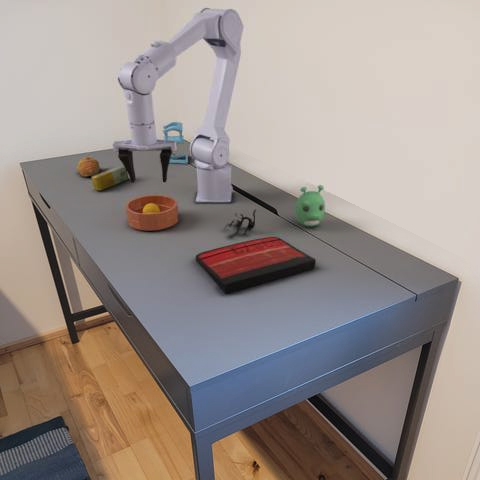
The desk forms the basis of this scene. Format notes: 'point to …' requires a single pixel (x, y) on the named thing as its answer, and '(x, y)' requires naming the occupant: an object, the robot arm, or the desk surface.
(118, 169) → the medication box
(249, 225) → the creature
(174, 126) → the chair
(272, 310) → the desk surface
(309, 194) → the alien toy
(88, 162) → the pastry
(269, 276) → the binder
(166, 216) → the bowl
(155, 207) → the blob
